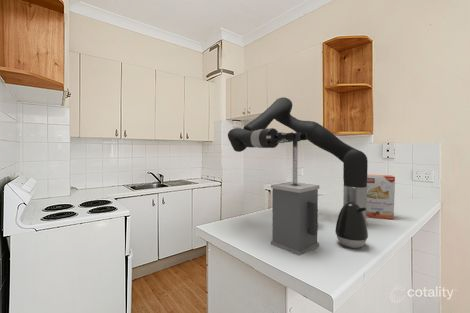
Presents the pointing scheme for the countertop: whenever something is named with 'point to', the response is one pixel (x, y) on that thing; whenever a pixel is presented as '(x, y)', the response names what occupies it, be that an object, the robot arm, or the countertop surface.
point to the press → (295, 217)
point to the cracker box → (380, 196)
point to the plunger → (295, 157)
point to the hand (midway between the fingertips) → (301, 136)
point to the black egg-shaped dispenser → (351, 226)
